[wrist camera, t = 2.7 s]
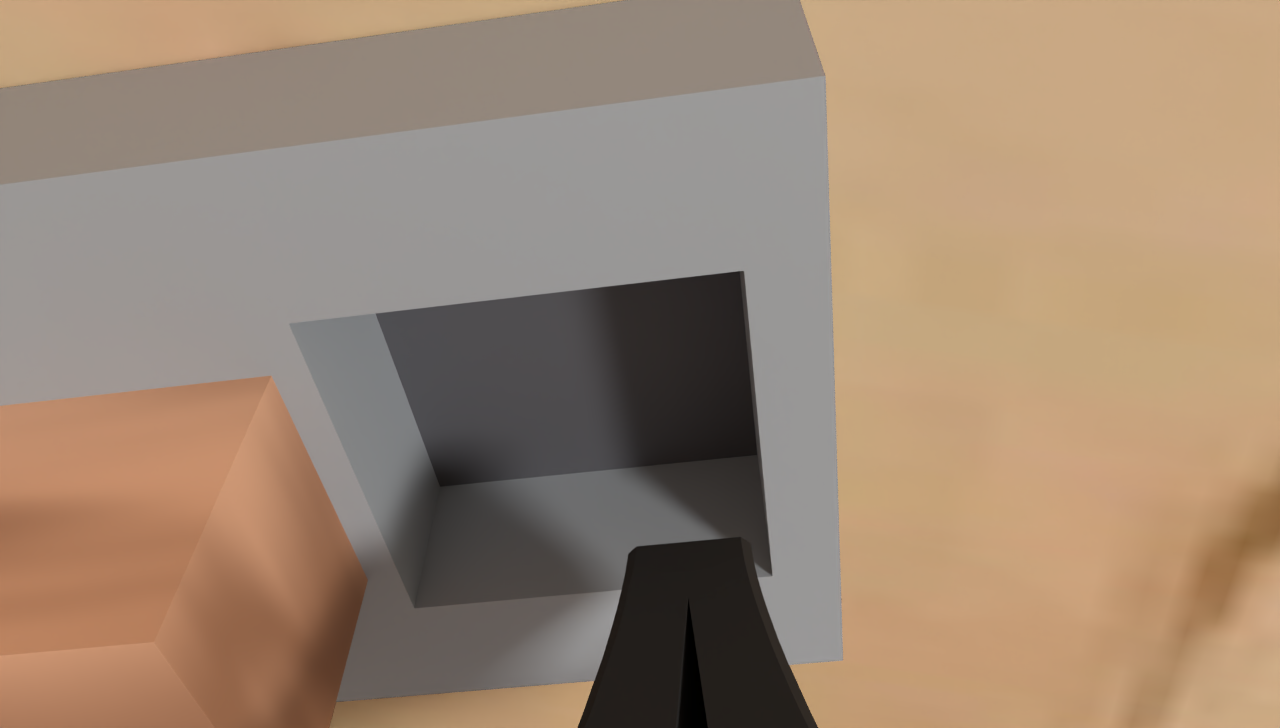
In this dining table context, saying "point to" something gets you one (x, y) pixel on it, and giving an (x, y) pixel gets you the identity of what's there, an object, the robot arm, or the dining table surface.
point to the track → (471, 304)
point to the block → (169, 564)
